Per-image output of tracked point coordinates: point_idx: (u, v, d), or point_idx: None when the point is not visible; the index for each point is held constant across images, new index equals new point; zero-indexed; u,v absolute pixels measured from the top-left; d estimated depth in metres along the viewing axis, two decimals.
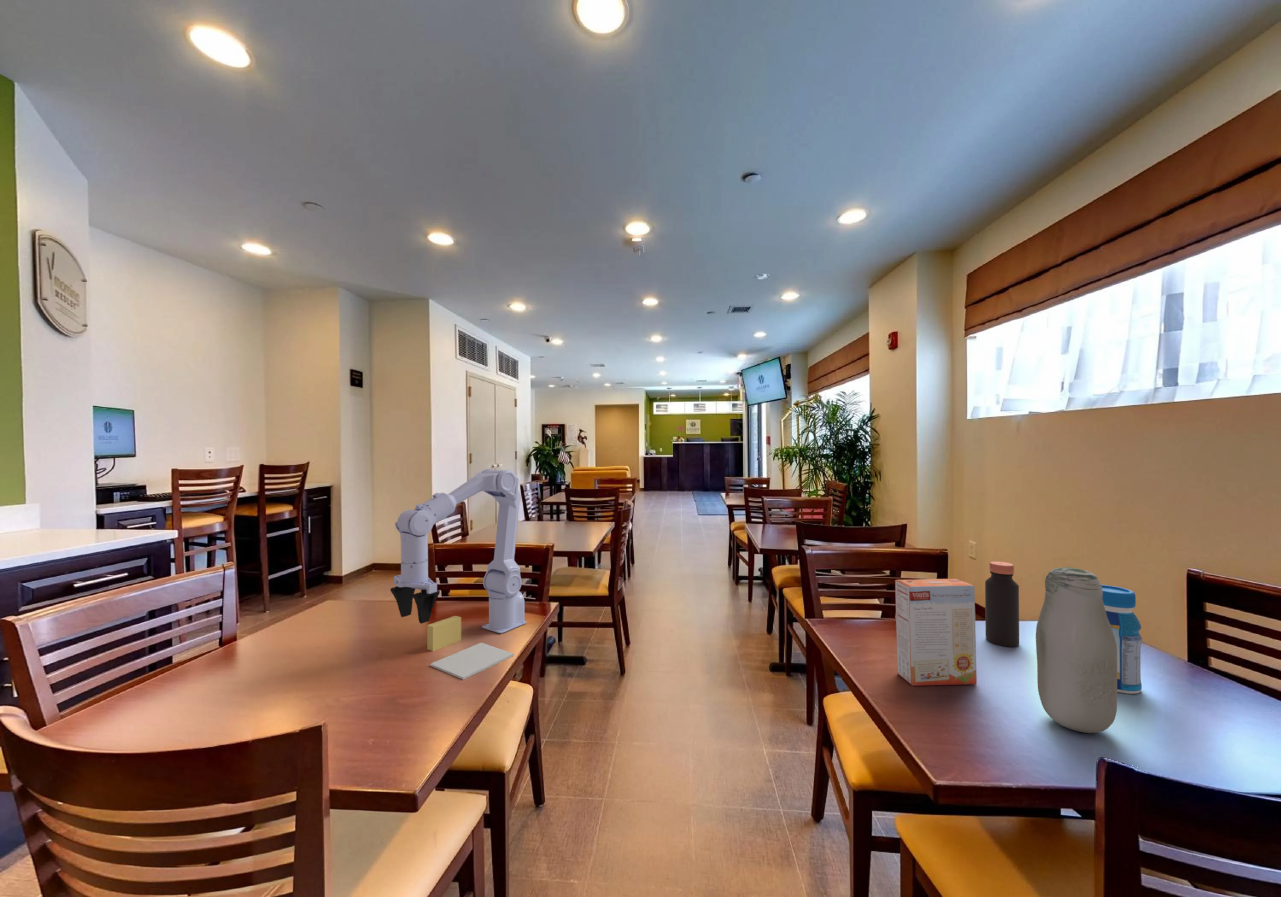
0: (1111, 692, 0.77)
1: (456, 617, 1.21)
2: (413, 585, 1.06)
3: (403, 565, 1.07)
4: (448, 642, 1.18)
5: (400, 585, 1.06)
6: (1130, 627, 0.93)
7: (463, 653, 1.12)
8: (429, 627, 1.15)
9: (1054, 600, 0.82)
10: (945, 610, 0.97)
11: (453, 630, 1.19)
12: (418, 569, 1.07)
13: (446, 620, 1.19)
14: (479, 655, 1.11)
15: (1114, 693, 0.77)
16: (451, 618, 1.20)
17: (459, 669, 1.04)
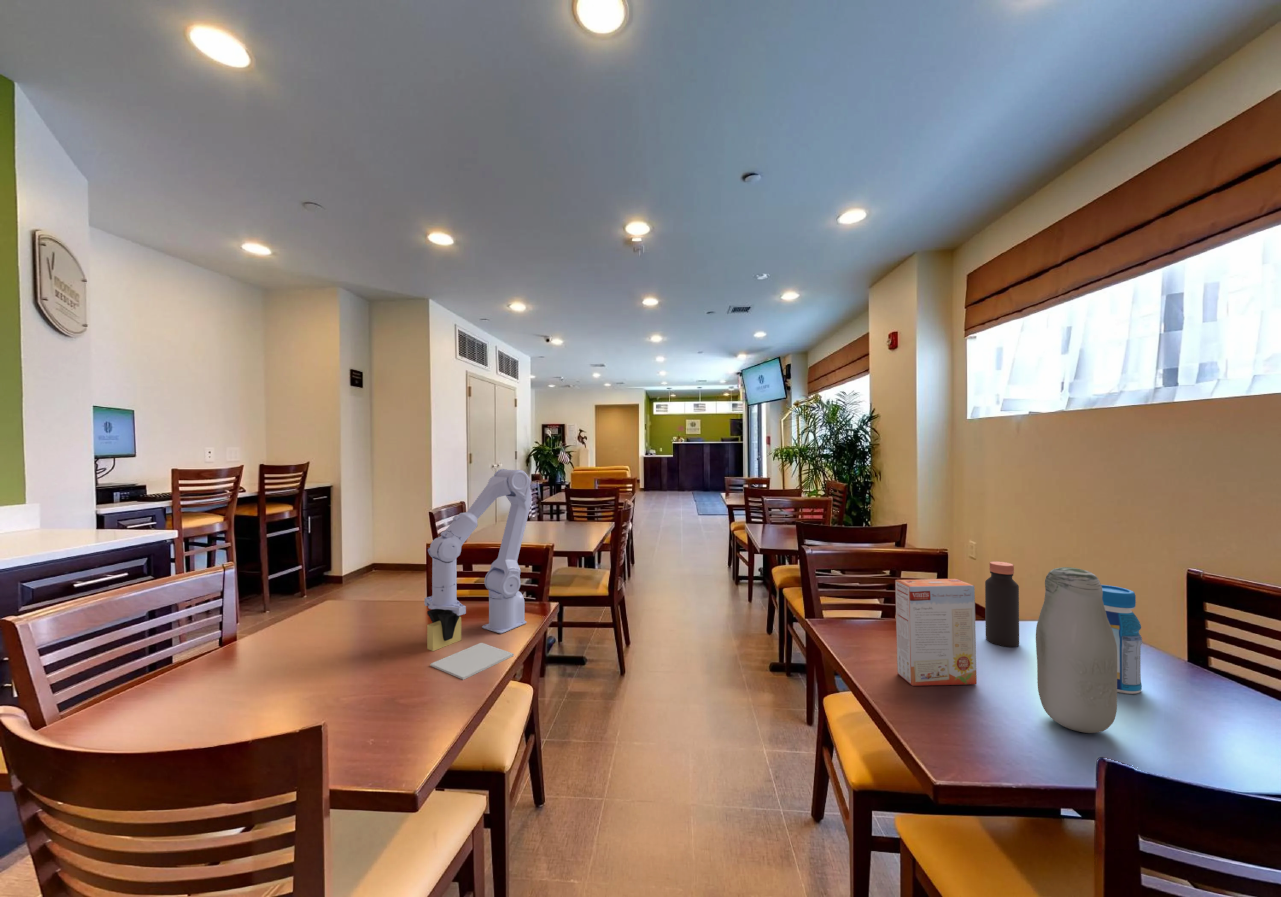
0: (1111, 692, 0.77)
1: None
2: (444, 607, 1.15)
3: (434, 589, 1.16)
4: (448, 642, 1.18)
5: (432, 607, 1.15)
6: (1130, 627, 0.93)
7: (463, 653, 1.12)
8: (429, 627, 1.15)
9: (1054, 600, 0.82)
10: (945, 610, 0.97)
11: None
12: (448, 592, 1.16)
13: None
14: (479, 655, 1.11)
15: (1114, 693, 0.77)
16: None
17: (459, 669, 1.04)
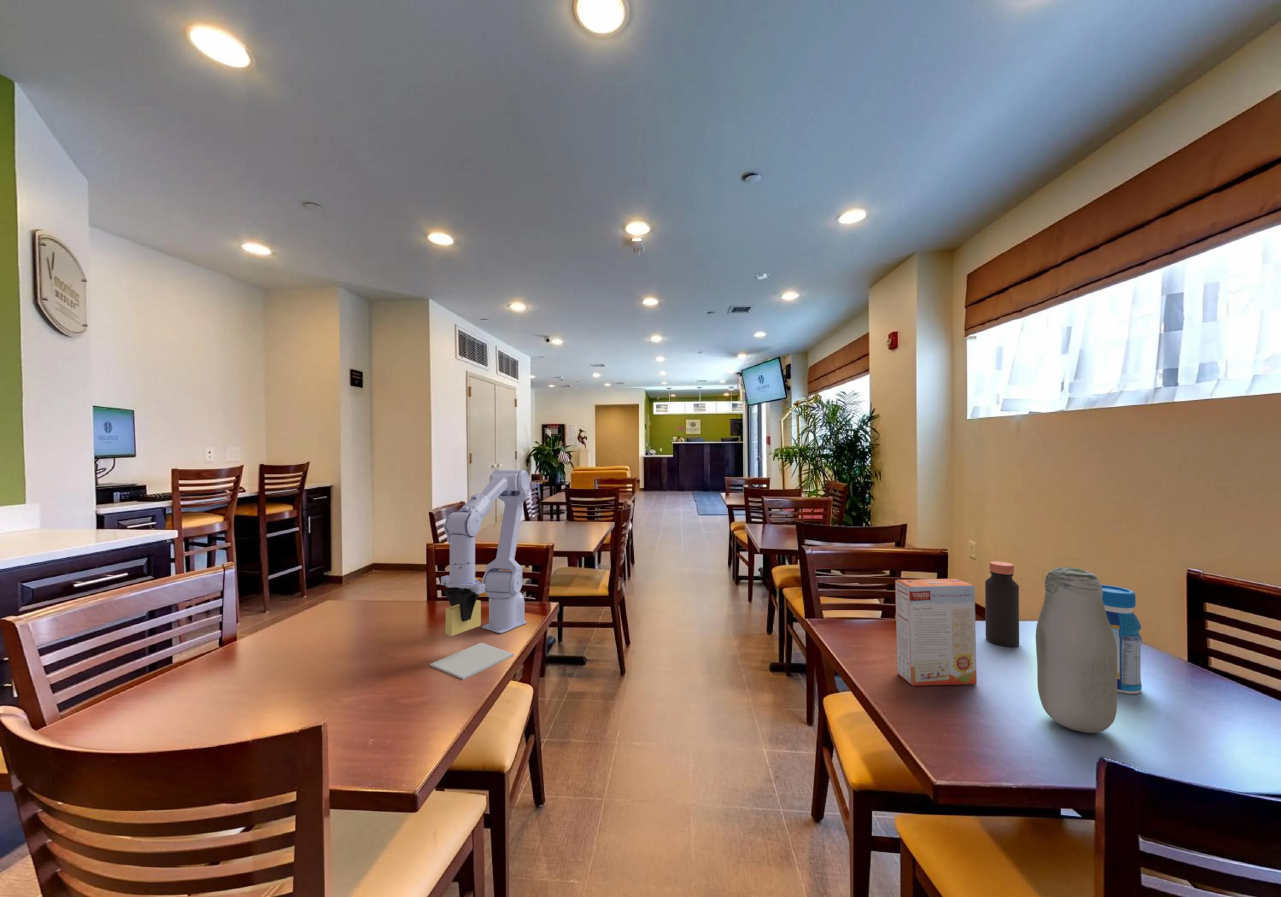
0: (1111, 692, 0.77)
1: None
2: (462, 586, 1.08)
3: (452, 566, 1.09)
4: (467, 627, 1.11)
5: (449, 585, 1.08)
6: (1130, 627, 0.93)
7: (463, 653, 1.12)
8: (447, 610, 1.09)
9: (1054, 600, 0.82)
10: (945, 610, 0.97)
11: (472, 614, 1.12)
12: (466, 570, 1.09)
13: None
14: (479, 655, 1.11)
15: (1114, 693, 0.77)
16: None
17: (459, 669, 1.04)
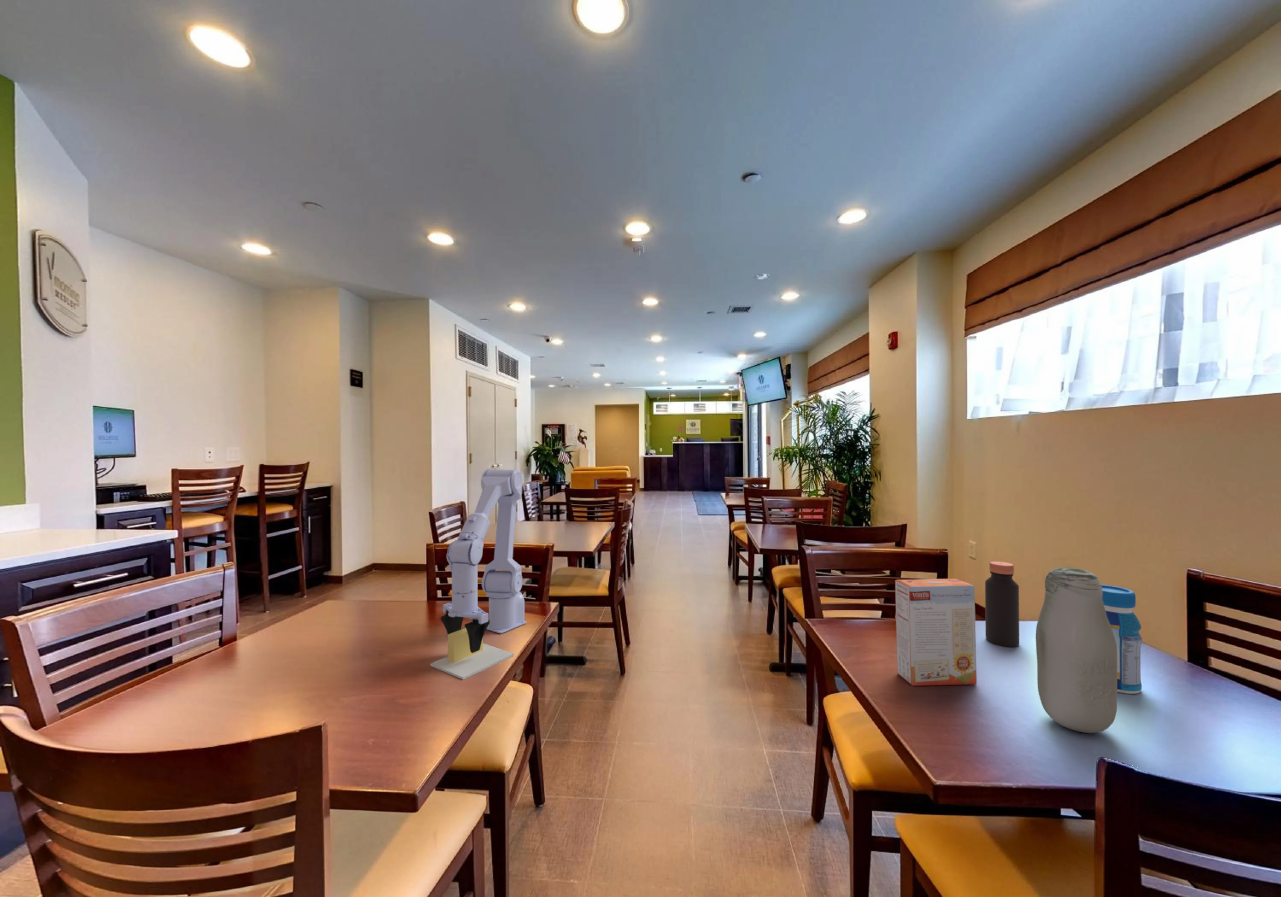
0: (1111, 692, 0.77)
1: None
2: (465, 615, 1.07)
3: (455, 595, 1.08)
4: (470, 652, 1.10)
5: (452, 615, 1.07)
6: (1130, 627, 0.93)
7: None
8: (450, 637, 1.08)
9: (1054, 600, 0.82)
10: (945, 610, 0.97)
11: None
12: (469, 599, 1.09)
13: None
14: (479, 655, 1.11)
15: (1114, 693, 0.77)
16: None
17: (459, 669, 1.04)
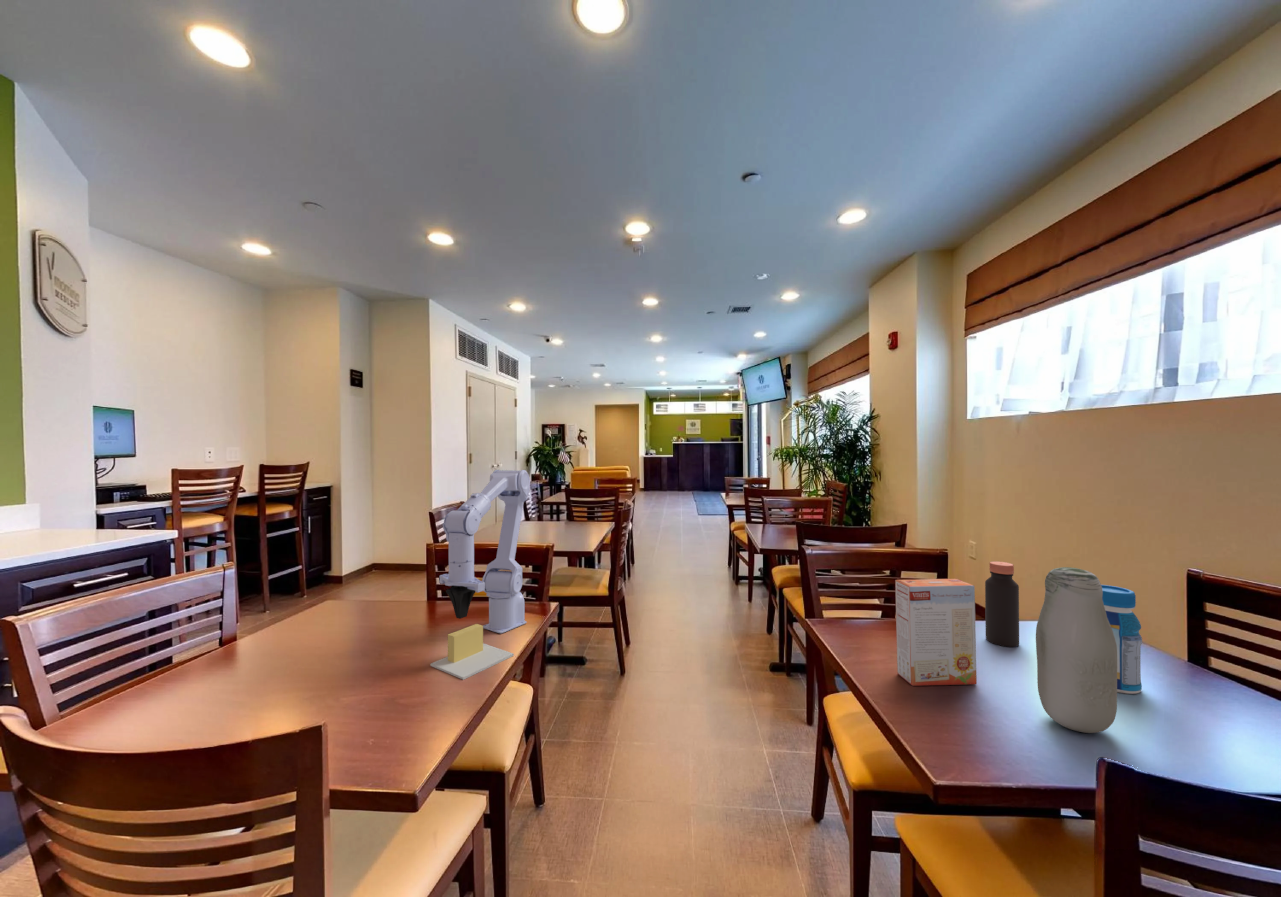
0: (1111, 692, 0.77)
1: (478, 625, 1.14)
2: (461, 584, 1.08)
3: (451, 564, 1.09)
4: (470, 652, 1.10)
5: (449, 584, 1.08)
6: (1130, 627, 0.93)
7: None
8: (450, 637, 1.08)
9: (1054, 600, 0.82)
10: (945, 610, 0.97)
11: (475, 639, 1.12)
12: (466, 568, 1.09)
13: (467, 629, 1.11)
14: (479, 655, 1.11)
15: (1114, 693, 0.77)
16: (472, 626, 1.13)
17: (459, 669, 1.04)
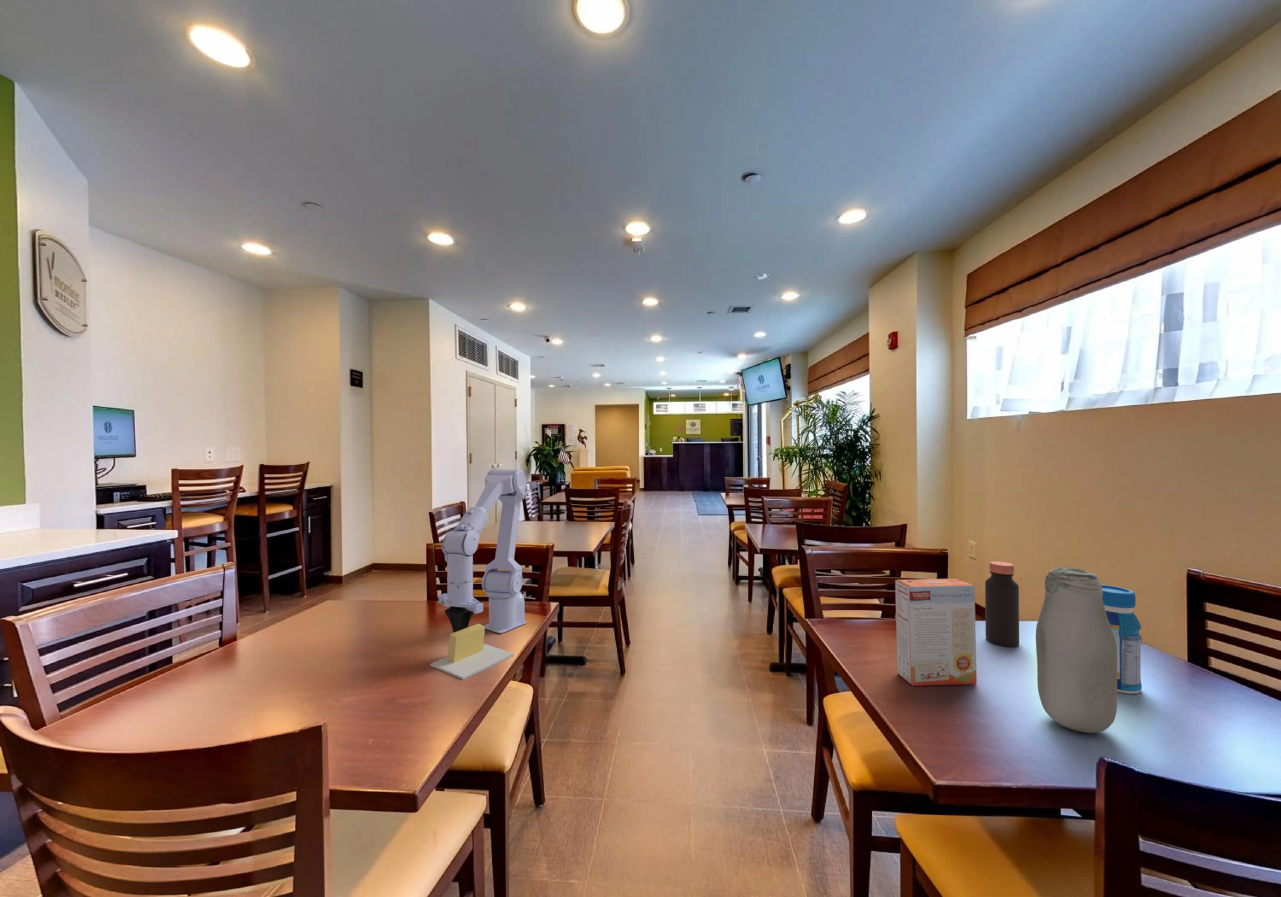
0: (1111, 692, 0.77)
1: (480, 626, 1.13)
2: (460, 605, 1.08)
3: (450, 585, 1.09)
4: (470, 652, 1.10)
5: (447, 605, 1.08)
6: (1130, 627, 0.93)
7: None
8: (452, 637, 1.07)
9: (1054, 600, 0.82)
10: (945, 610, 0.97)
11: (476, 640, 1.11)
12: (464, 589, 1.10)
13: (469, 629, 1.11)
14: (479, 655, 1.11)
15: (1114, 693, 0.77)
16: (474, 627, 1.12)
17: (459, 669, 1.04)
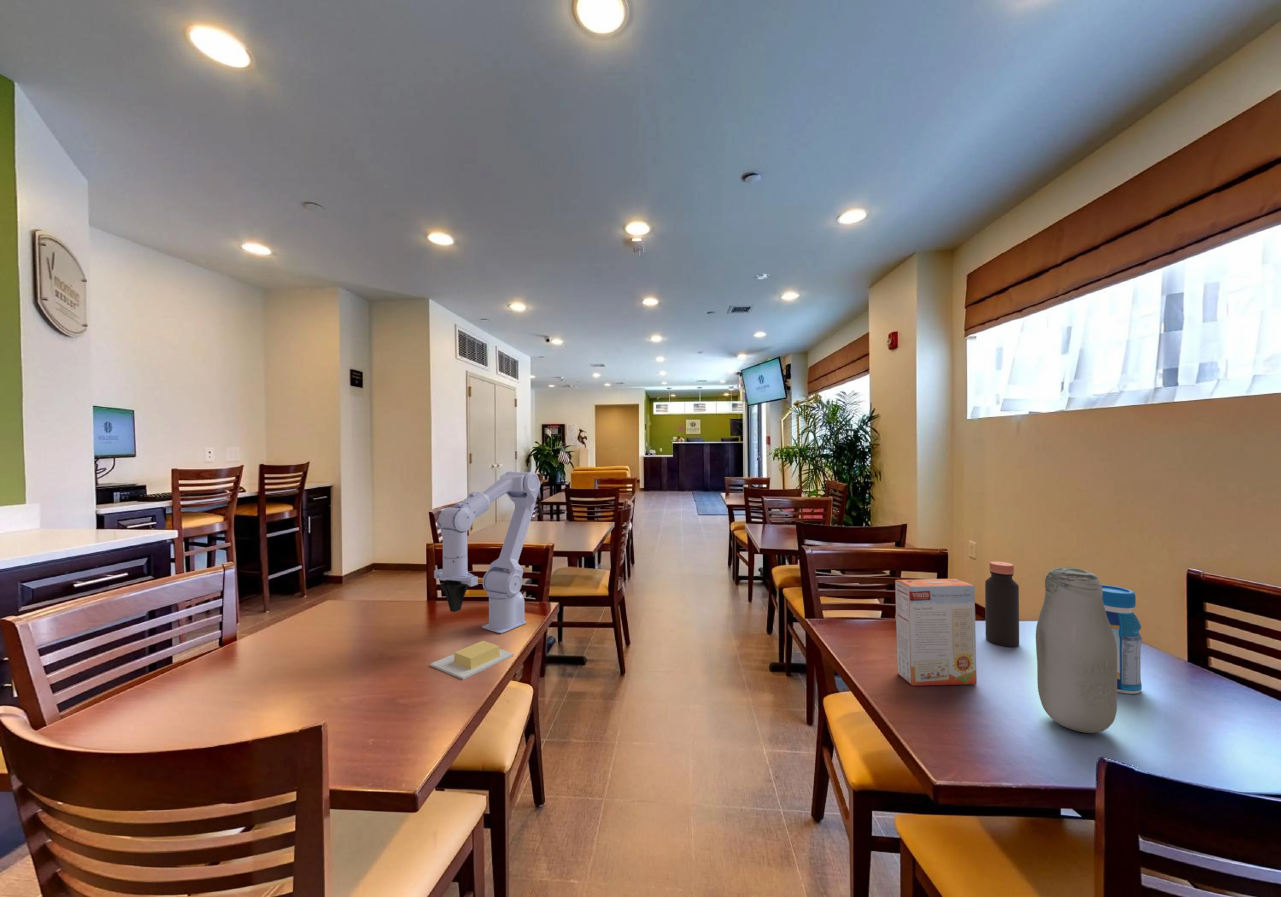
0: (1111, 692, 0.77)
1: (497, 653, 1.10)
2: (455, 578, 1.12)
3: (445, 560, 1.13)
4: None
5: (443, 578, 1.12)
6: (1130, 627, 0.93)
7: None
8: (469, 662, 1.04)
9: (1054, 600, 0.82)
10: (945, 610, 0.97)
11: None
12: (459, 563, 1.14)
13: (487, 656, 1.07)
14: None
15: (1114, 693, 0.77)
16: (493, 653, 1.09)
17: (459, 669, 1.04)
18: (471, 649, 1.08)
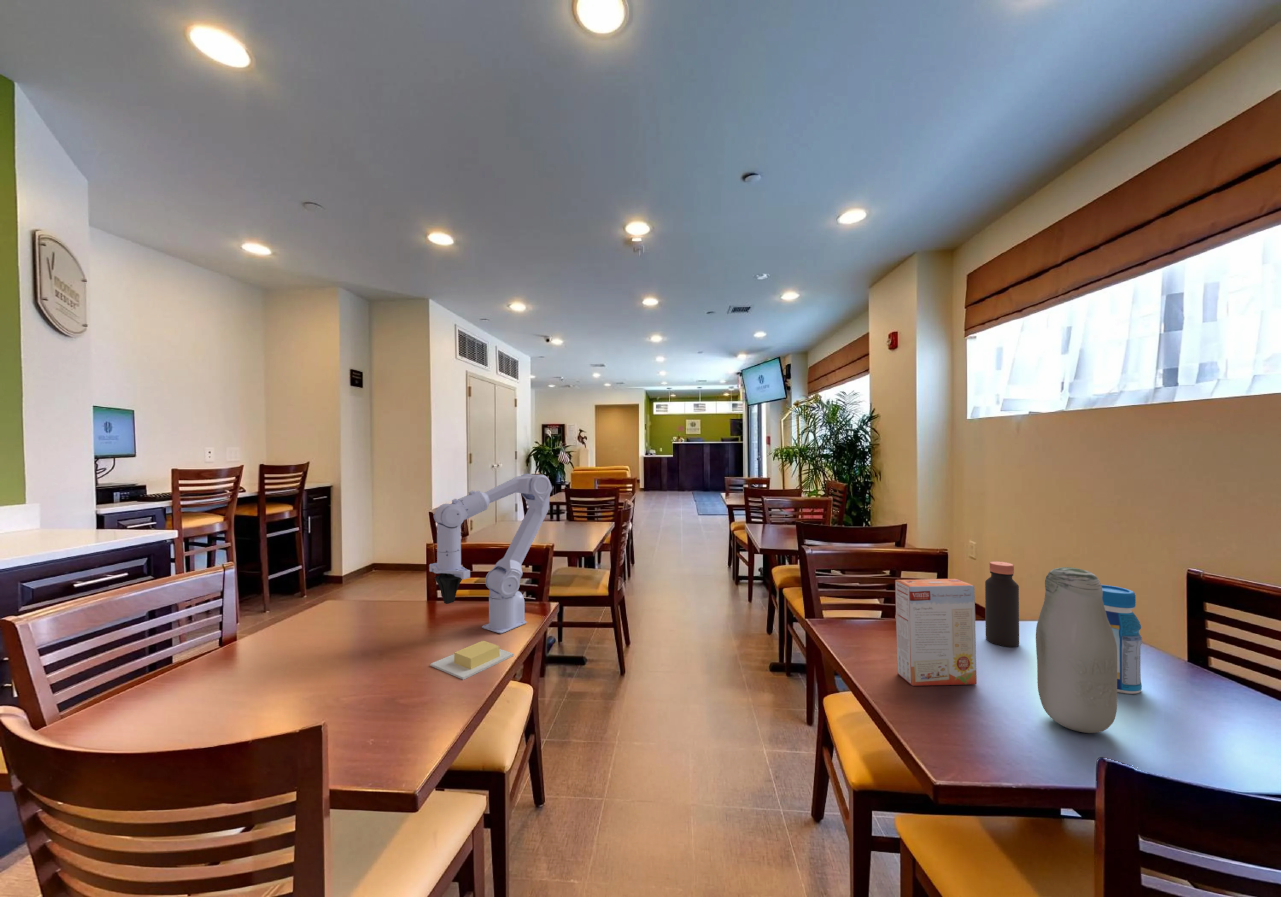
0: (1111, 692, 0.77)
1: (497, 653, 1.10)
2: (448, 571, 1.17)
3: (439, 553, 1.18)
4: None
5: (437, 571, 1.17)
6: (1130, 627, 0.93)
7: None
8: (469, 662, 1.04)
9: (1054, 600, 0.82)
10: (945, 610, 0.97)
11: None
12: (453, 557, 1.19)
13: (487, 656, 1.07)
14: None
15: (1114, 693, 0.77)
16: (493, 653, 1.09)
17: (459, 669, 1.04)
18: (471, 649, 1.08)
